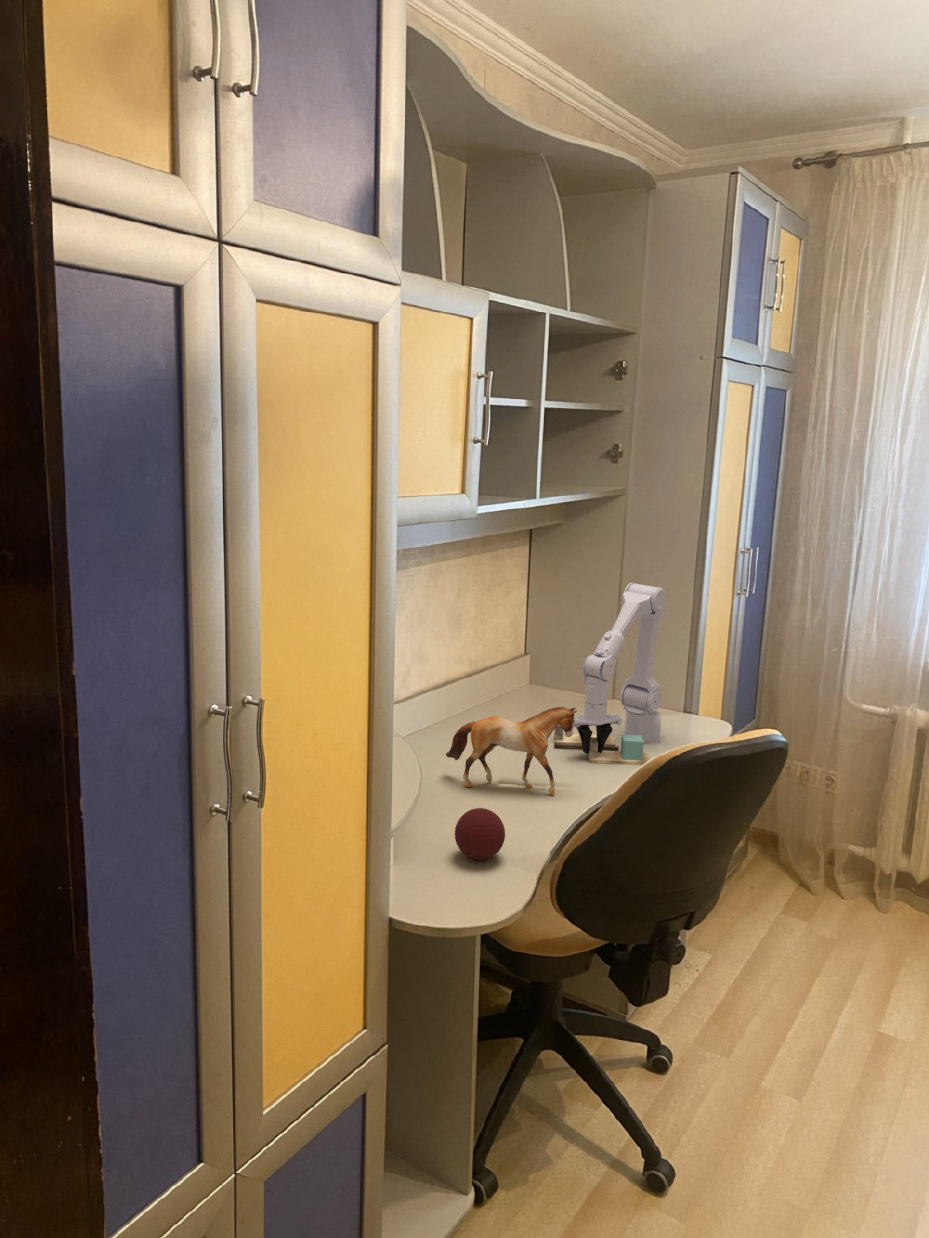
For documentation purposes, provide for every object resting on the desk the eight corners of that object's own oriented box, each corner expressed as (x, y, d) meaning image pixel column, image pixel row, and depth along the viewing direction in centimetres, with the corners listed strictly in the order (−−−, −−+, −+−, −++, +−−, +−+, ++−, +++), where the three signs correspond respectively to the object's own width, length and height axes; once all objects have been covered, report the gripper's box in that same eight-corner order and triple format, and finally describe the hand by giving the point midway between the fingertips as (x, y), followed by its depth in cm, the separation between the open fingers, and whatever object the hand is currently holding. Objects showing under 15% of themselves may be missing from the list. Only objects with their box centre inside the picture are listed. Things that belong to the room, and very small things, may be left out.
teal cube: (639, 753, 239) (641, 735, 238) (642, 760, 234) (643, 741, 233) (620, 752, 239) (621, 734, 238) (622, 759, 234) (624, 740, 233)
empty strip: (612, 738, 252) (613, 721, 251) (615, 747, 245) (616, 730, 244) (553, 735, 253) (554, 719, 252) (555, 744, 246) (556, 727, 245)
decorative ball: (497, 872, 177) (499, 824, 175) (447, 864, 180) (449, 816, 177) (509, 850, 186) (511, 804, 184) (461, 842, 189) (463, 797, 187)
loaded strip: (648, 755, 240) (649, 738, 239) (652, 765, 233) (654, 747, 232) (586, 752, 241) (588, 735, 240) (589, 762, 234) (590, 744, 233)
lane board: (613, 740, 253) (613, 733, 253) (623, 770, 232) (624, 762, 231) (551, 737, 254) (551, 730, 253) (556, 767, 232) (556, 759, 232)
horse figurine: (573, 788, 219) (578, 706, 215) (570, 801, 212) (575, 716, 207) (446, 774, 225) (448, 693, 221) (438, 786, 218) (441, 702, 213)
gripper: (614, 695, 240) (611, 744, 243) (563, 698, 236) (560, 748, 238) (627, 703, 233) (623, 754, 236) (574, 707, 229) (571, 758, 232)
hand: (592, 752), depth 237 cm, fingers closed on loaded strip, 3 cm apart
